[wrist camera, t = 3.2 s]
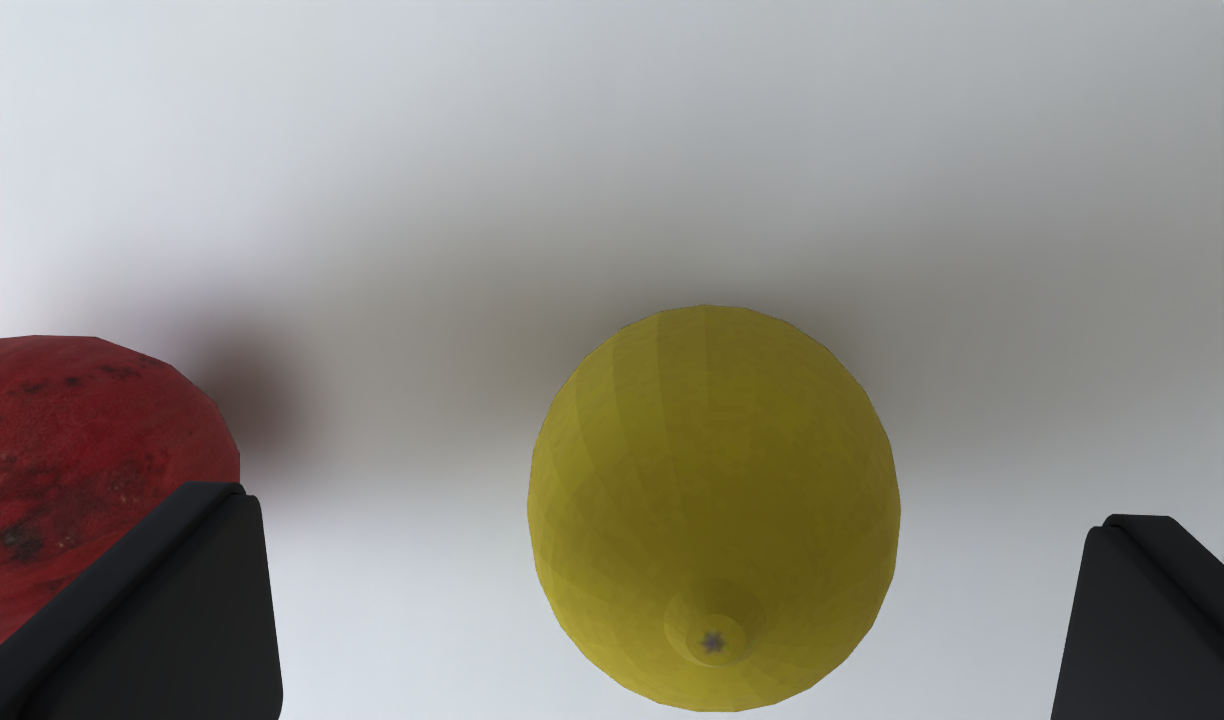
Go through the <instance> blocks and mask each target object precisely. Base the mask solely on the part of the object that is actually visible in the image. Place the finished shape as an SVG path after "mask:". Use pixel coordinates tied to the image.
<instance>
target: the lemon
mask: <svg viewBox="0 0 1224 720" xmlns="http://www.w3.org/2000/svg"><path fill="white" fill-rule="evenodd" d="M527 512H528V522H529V529H530V535H531V541H532V548H533V554H534V560H535V566H536V571H537V574H538V578H539V581H540V583H541V585H542V587H543V590H544V592H545V594H546V596H547V598H548V601H549V603H550V605H551V607H552V610H553V612H554V614H555V616H556V618H557V620H558V622H559V624H560V625H561V627H562V628H563V630H564V631H565V632H566V633H567V635H568V636H569V637H570V638H571V639H572V641H573V642H574V643H575V644H576V646H577V647H578V648H579V649H580V651H581V652H582V653H583V654H584V655H585V657H586V658H587V659H588V660H590V661H591V662H592V663H593V664H594V665H596V666H597V667H598V668H599V669H601V670H602V671H603V672H605V673H606V674H607V675H609V676H610V677H611V678H613V679H614V680H615V681H616V682H618V683H619V684H620V685H622V686H623V687H625V688H627V689H629V690H631V691H633V692H635V693H637V694H640V695H642V696H644V697H646V698H648V699H650V700H653V701H655V702H657V703H659V704H664V705H668V706H673V707H678V708H682V709H687V710H691V711H696V712H739V711H744V710H749V709H754V708H758V707H763V706H768V705H773V704H776V703H778V702H781V701H783V700H785V699H787V698H789V697H792V696H794V695H796V694H798V693H800V692H803V691H805V690H807V689H809V688H811V687H812V686H813V685H815V684H816V683H817V682H819V681H820V680H821V679H822V678H824V677H825V676H826V675H828V674H829V673H830V672H831V671H833V670H834V669H835V668H837V667H838V666H839V665H840V664H841V663H843V662H844V661H845V660H846V659H847V658H848V657H849V655H850V654H851V653H852V652H853V650H854V649H855V648H856V646H857V645H858V644H859V643H860V641H861V640H862V639H863V638H864V636H865V635H866V634H867V632H868V631H869V630H870V629H871V627H872V626H873V623H874V621H875V619H876V617H877V615H878V612H879V610H880V608H881V605H882V603H883V600H884V598H885V596H886V593H887V591H888V588H889V586H890V583H891V581H892V579H893V574H894V570H895V564H896V555H897V546H898V537H899V528H900V516H901V506H900V495H899V490H898V484H897V478H896V472H895V466H894V460H893V455H892V450H891V445H890V442H889V440H888V437H887V434H886V432H885V430H884V428H883V426H882V424H881V422H880V420H879V418H878V416H877V414H876V412H875V410H874V408H873V406H872V404H871V402H870V400H869V398H868V396H867V394H866V392H865V391H864V389H863V388H862V386H861V385H860V384H859V383H858V382H857V381H856V380H855V379H854V377H853V376H852V375H851V374H850V373H849V372H848V371H847V370H846V368H845V367H844V366H843V365H842V364H841V363H840V362H839V361H838V360H837V358H836V357H835V356H834V355H833V354H832V353H831V352H830V351H829V350H828V349H827V348H825V347H824V346H822V345H821V344H819V343H818V342H816V341H815V340H813V339H812V338H810V337H809V336H807V335H806V334H804V333H803V332H801V331H800V330H798V329H797V328H795V327H794V326H792V325H791V324H789V323H787V322H785V321H782V320H779V319H776V318H773V317H770V316H768V315H765V314H762V313H759V312H756V311H753V310H750V309H747V308H737V307H725V306H713V305H699V306H692V307H686V308H680V309H673V310H667V311H661V312H659V313H657V314H654V315H652V316H650V317H647V318H645V319H642V320H640V321H638V322H635V323H633V324H631V325H628V326H626V327H624V328H622V329H621V330H620V331H618V332H617V333H616V334H614V335H613V336H612V337H610V338H609V339H608V340H607V341H605V342H604V343H603V344H601V345H600V346H599V347H597V348H596V349H595V350H594V351H592V352H591V353H590V354H588V355H587V356H586V357H585V358H584V360H583V361H582V362H581V363H580V365H579V366H578V367H577V369H576V370H575V371H574V372H573V374H572V375H571V376H570V378H569V379H568V380H567V381H566V383H565V384H564V385H563V387H562V388H561V389H560V390H559V392H558V393H557V394H556V396H555V398H554V400H553V402H552V404H551V407H550V409H549V411H548V414H547V416H546V419H545V421H544V423H543V426H542V428H541V431H540V433H539V436H538V438H537V440H536V443H535V447H534V450H533V457H532V466H531V475H530V484H529V493H528V502H527Z"/></svg>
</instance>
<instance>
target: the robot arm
mask: <svg viewBox="0 0 1224 720" xmlns="http://www.w3.org/2000/svg"><path fill="white" fill-rule="evenodd" d="M282 702H283V686H282V677H281V669H280V661H279V653H278V644H277V636H276V628H275V620H274V611H273V603H272V595H271V586H270V578H269V570H268V562H267V553H266V545H265V537H264V529H263V520H262V512H261V507H260V503H259V501H258V499H257V497H255V496H254V495H246V492H245V490H244V488H243V486H242V485H241V484H239V483H238V482H212V481H186V482H185V483H183V484H181V485H180V486H179V487H178V488H177V489H176V490H175V491H173V492H172V493H171V494H170V495H169V496H168V497H167V498H166V499H164V500H163V501H162V502H161V503H160V504H159V505H158V506H157V507H155V508H154V509H153V510H152V511H151V512H150V513H149V514H148V515H146V516H145V517H144V518H143V519H142V520H141V521H140V522H138V523H137V524H136V525H135V526H134V527H133V528H132V529H131V530H129V531H128V532H127V533H126V534H125V535H124V536H123V537H122V538H120V539H119V540H118V541H117V542H116V543H115V544H114V545H113V546H111V547H110V548H109V549H108V550H107V551H106V552H105V553H103V554H102V555H101V556H100V557H99V558H98V559H97V560H96V561H94V562H93V563H92V564H91V565H90V566H89V567H88V568H87V569H85V570H84V571H83V572H82V573H81V574H80V575H79V576H78V577H76V578H75V579H74V580H73V581H72V582H71V583H70V584H69V585H67V586H66V587H65V588H64V589H63V590H62V591H61V592H59V593H58V594H57V595H56V596H55V597H54V598H53V599H52V600H50V601H49V602H48V603H47V604H46V605H45V606H44V607H43V608H41V609H40V610H39V611H38V612H37V613H36V614H35V615H34V616H32V617H31V618H30V619H29V620H28V621H27V622H26V623H24V624H23V625H22V626H21V627H20V628H19V629H18V630H17V631H15V632H14V633H13V634H12V635H11V636H10V637H9V638H8V639H6V640H5V641H4V642H3V643H2V644H1V645H0V720H278V719H279V716H280V713H281V708H282ZM1050 720H1224V564H1223V563H1221V562H1220V561H1219V560H1218V559H1217V558H1216V557H1215V556H1214V555H1213V554H1212V553H1211V552H1209V551H1208V550H1207V549H1206V548H1205V547H1204V546H1203V545H1202V544H1201V543H1200V542H1199V541H1197V540H1196V539H1195V538H1194V537H1193V536H1192V535H1191V534H1190V533H1189V532H1188V531H1187V530H1186V529H1184V528H1183V527H1182V526H1181V525H1180V524H1179V523H1178V522H1177V521H1176V520H1174V519H1173V518H1171V517H1169V516H1154V515H1126V514H1112V515H1110V516H1109V517H1107V519H1106V520H1105V522H1104V523H1103V525H1102V527H1099V526H1094V527H1093V528H1091V529H1090V531H1089V532H1088V534H1087V537H1086V541H1085V545H1084V550H1083V556H1082V561H1081V566H1080V571H1079V576H1078V581H1077V586H1076V591H1075V597H1074V602H1073V607H1072V612H1071V617H1070V622H1069V627H1068V632H1067V638H1066V643H1065V648H1064V653H1063V658H1062V663H1061V668H1060V673H1059V679H1058V684H1057V689H1056V694H1055V699H1054V704H1053V709H1052V714H1051V719H1050Z"/></svg>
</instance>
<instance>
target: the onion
mask: <svg viewBox="0 0 1224 720" xmlns="http://www.w3.org/2000/svg"><path fill="white" fill-rule="evenodd" d="M186 481H212V482H238V483H239V484H240V453H239V451H238V449H237V447H236V444H235V442H234V440H233V438H232V436H231V434H230V432H229V430H228V428H227V426H226V424H225V422H224V419H223V417H222V415H221V413H220V411H219V409H218V407H217V405H216V403H215V402H214V401H213V400H212V399H210V398H209V397H208V396H207V395H206V394H205V393H203V392H202V391H201V390H200V389H199V388H197V387H196V386H195V385H194V384H193V383H192V382H190V381H189V380H188V379H187V378H186V377H184V376H183V375H182V374H181V373H180V372H179V371H177V370H176V369H175V368H174V367H173V366H172V365H169V364H167V363H165V362H163V361H160V360H158V359H155V358H153V357H150V356H147V355H144V354H142V353H139V352H136V351H133V350H131V349H128V348H125V347H122V346H120V345H117V344H114V343H111V342H109V341H106V340H103V339H100V338H98V337H84V336H48V335H31V336H21V337H10V338H0V645H1V644H2V643H3V642H4V641H5V640H6V639H8V638H9V637H10V636H11V635H12V634H13V633H14V632H15V631H17V630H18V629H19V628H20V627H21V626H22V625H23V624H24V623H26V622H27V621H28V620H29V619H30V618H31V617H32V616H34V615H35V614H36V613H37V612H38V611H39V610H40V609H41V608H43V607H44V606H45V605H46V604H47V603H48V602H49V601H50V600H52V599H53V598H54V597H55V596H56V595H57V594H58V593H59V592H61V591H62V590H63V589H64V588H65V587H66V586H67V585H69V584H70V583H71V582H72V581H73V580H74V579H75V578H76V577H78V576H79V575H80V574H81V573H82V572H83V571H84V570H85V569H87V568H88V567H89V566H90V565H91V564H92V563H93V562H94V561H96V560H97V559H98V558H99V557H100V556H101V555H102V554H103V553H105V552H106V551H107V550H108V549H109V548H110V547H111V546H113V545H114V544H115V543H116V542H117V541H118V540H119V539H120V538H122V537H123V536H124V535H125V534H126V533H127V532H128V531H129V530H131V529H132V528H133V527H134V526H135V525H136V524H137V523H138V522H140V521H141V520H142V519H143V518H144V517H145V516H146V515H148V514H149V513H150V512H151V511H152V510H153V509H154V508H155V507H157V506H158V505H159V504H160V503H161V502H162V501H163V500H164V499H166V498H167V497H168V496H169V495H170V494H171V493H172V492H173V491H175V490H176V489H177V488H178V487H179V486H180V485H181V484H183V483H185V482H186Z"/></svg>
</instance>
